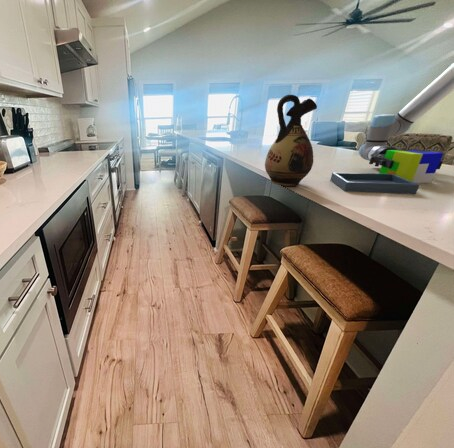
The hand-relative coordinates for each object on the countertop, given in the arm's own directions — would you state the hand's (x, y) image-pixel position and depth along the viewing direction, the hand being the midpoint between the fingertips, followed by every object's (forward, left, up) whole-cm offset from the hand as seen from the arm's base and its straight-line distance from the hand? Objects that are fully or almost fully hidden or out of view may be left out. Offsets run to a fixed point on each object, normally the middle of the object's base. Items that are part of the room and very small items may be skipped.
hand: (415, 165), depth 83 cm
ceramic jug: (+42, +9, -6) cm, 43 cm away
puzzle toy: (0, -3, -6) cm, 7 cm away
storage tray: (+15, +9, -6) cm, 18 cm away
